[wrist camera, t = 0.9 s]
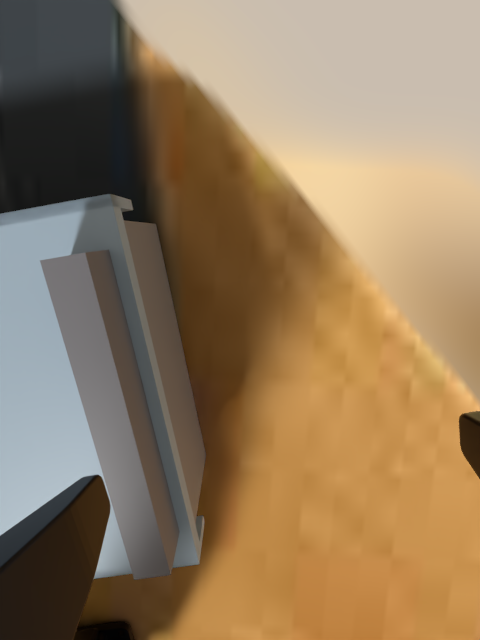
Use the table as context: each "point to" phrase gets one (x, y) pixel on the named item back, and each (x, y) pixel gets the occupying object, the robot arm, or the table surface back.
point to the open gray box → (168, 352)
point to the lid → (87, 385)
